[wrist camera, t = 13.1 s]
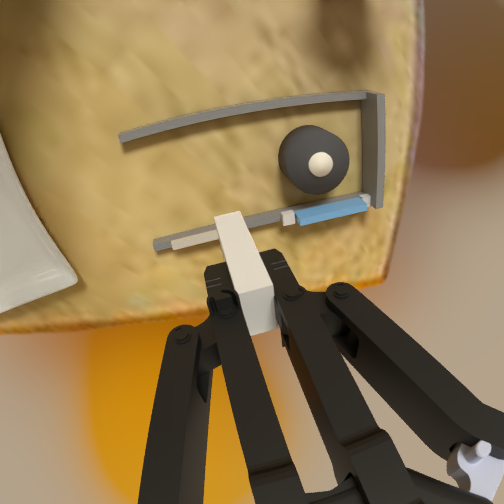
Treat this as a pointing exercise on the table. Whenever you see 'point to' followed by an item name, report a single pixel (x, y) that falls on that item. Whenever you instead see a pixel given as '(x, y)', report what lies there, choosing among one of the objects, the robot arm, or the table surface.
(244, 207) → the table surface
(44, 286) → the square plate
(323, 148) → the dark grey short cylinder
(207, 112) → the gray u-shaped frame
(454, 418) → the robot arm
